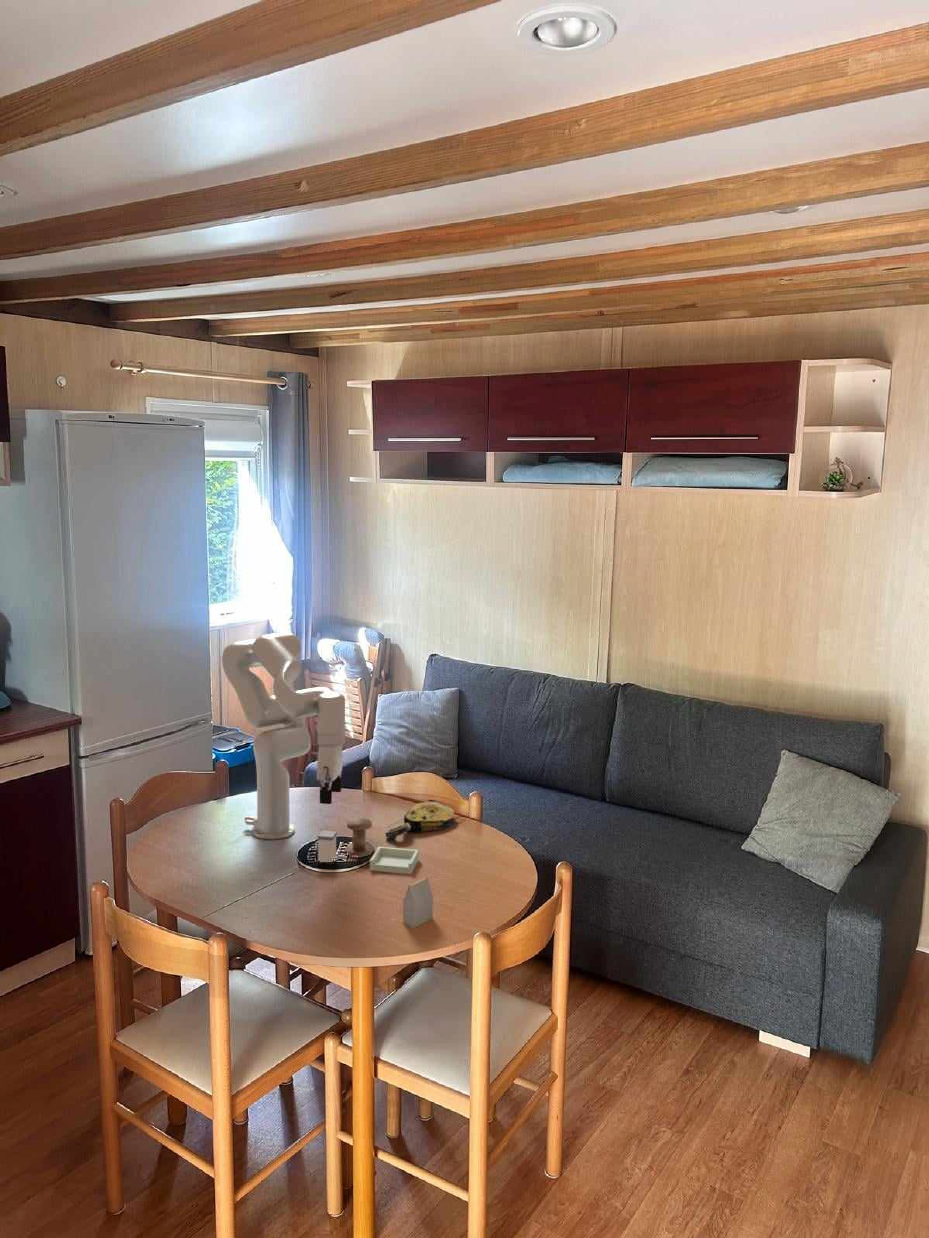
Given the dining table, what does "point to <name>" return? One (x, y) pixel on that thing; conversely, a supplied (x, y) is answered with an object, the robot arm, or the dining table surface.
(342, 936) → the dining table surface
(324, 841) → the white grey rectangular block
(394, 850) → the open tray
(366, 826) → the knob
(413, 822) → the pulley block
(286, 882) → the dining table surface
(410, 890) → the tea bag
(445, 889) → the dining table surface
